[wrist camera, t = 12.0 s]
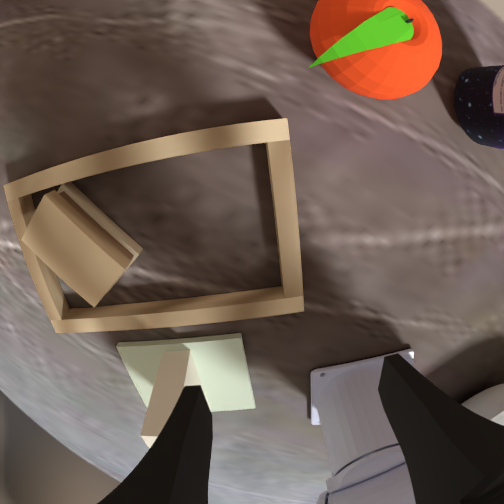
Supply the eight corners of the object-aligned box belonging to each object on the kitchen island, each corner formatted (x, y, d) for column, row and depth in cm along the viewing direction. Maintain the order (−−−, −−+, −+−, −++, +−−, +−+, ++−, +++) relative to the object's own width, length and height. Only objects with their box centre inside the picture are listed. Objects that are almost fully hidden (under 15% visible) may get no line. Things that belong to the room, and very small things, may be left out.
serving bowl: (365, 451, 32) (378, 495, 25) (496, 339, 25) (529, 377, 19) (433, 464, 37) (445, 494, 31) (527, 383, 31) (547, 410, 24)
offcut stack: (70, 179, 18) (42, 192, 15) (144, 247, 20) (127, 271, 17) (45, 221, 19) (18, 239, 16) (113, 284, 21) (95, 311, 18)
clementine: (324, 129, 17) (370, 135, 11) (260, 35, 15) (271, -12, 8) (420, 77, 16) (491, 69, 9) (365, -11, 13) (416, -55, 7)
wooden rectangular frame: (283, 118, 17) (287, 118, 16) (300, 298, 22) (304, 311, 20) (16, 180, 17) (3, 185, 16) (64, 321, 22) (56, 332, 21)
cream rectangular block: (190, 349, 23) (175, 436, 15) (210, 406, 25) (204, 483, 18) (163, 351, 23) (140, 435, 15) (186, 407, 25) (176, 483, 18)
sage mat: (240, 332, 23) (241, 337, 22) (255, 403, 26) (255, 408, 25) (118, 342, 23) (116, 346, 22) (151, 408, 26) (149, 412, 26)
